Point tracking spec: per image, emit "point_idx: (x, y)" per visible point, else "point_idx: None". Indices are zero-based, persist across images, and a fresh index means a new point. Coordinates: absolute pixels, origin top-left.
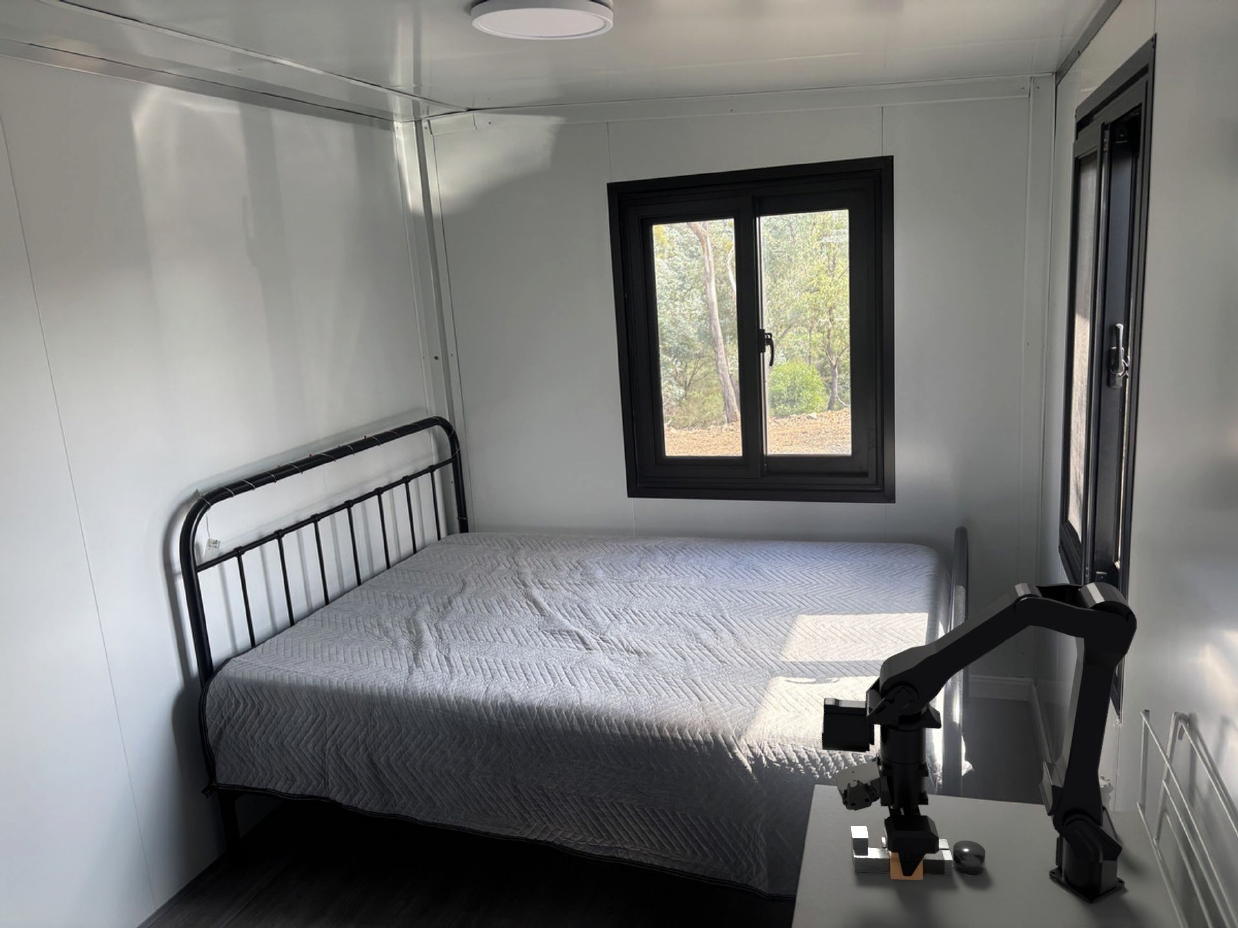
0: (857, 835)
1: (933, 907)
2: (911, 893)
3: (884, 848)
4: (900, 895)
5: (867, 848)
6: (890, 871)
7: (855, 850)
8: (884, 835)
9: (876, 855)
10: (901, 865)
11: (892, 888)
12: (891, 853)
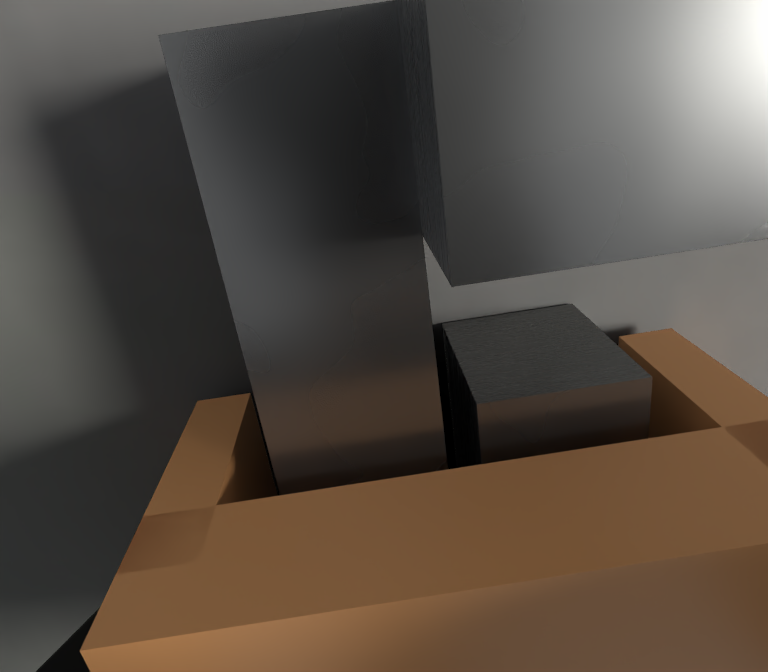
0: (496, 70)
1: (15, 639)
2: (105, 524)
3: (471, 402)
4: (48, 459)
5: (410, 224)
6: (218, 422)
7: (333, 46)
8: (710, 387)
9: (288, 340)
10: (76, 632)
11: (111, 403)
12: (95, 627)
